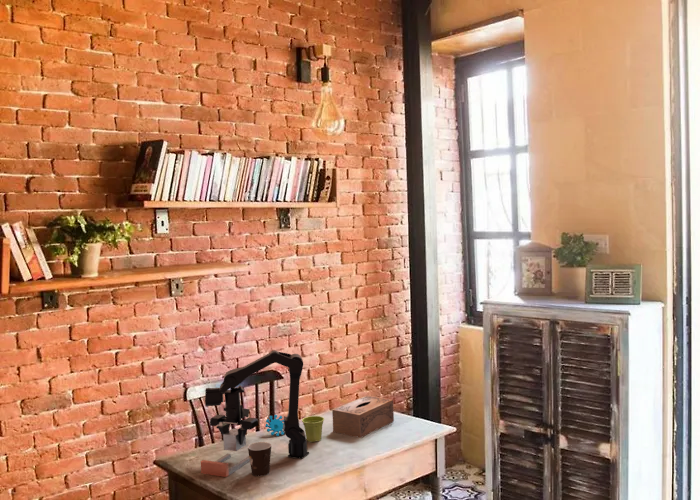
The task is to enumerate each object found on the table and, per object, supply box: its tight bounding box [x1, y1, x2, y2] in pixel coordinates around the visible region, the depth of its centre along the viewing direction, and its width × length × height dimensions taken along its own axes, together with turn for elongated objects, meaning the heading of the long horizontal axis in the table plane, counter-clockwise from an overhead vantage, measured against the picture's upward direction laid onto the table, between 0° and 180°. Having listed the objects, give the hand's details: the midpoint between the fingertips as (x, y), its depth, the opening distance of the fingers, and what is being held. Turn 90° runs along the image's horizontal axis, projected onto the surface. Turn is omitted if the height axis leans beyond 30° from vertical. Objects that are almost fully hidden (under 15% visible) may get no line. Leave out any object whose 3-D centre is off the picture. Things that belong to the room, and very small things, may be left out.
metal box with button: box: [222, 428, 247, 452], centre depth 254 cm, size 6×8×6 cm
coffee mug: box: [247, 441, 272, 477], centre depth 240 cm, size 12×9×10 cm
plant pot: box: [301, 415, 325, 443], centre depth 275 cm, size 9×9×9 cm
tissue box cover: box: [332, 394, 395, 438], centre depth 290 cm, size 26×14×10 cm, turn 143°
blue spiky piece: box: [264, 414, 285, 437], centre depth 285 cm, size 11×6×10 cm
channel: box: [200, 453, 250, 478], centre depth 249 cm, size 11×18×4 cm, turn 157°
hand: (234, 443), depth 254 cm, fingers closed on metal box with button, 5 cm apart
